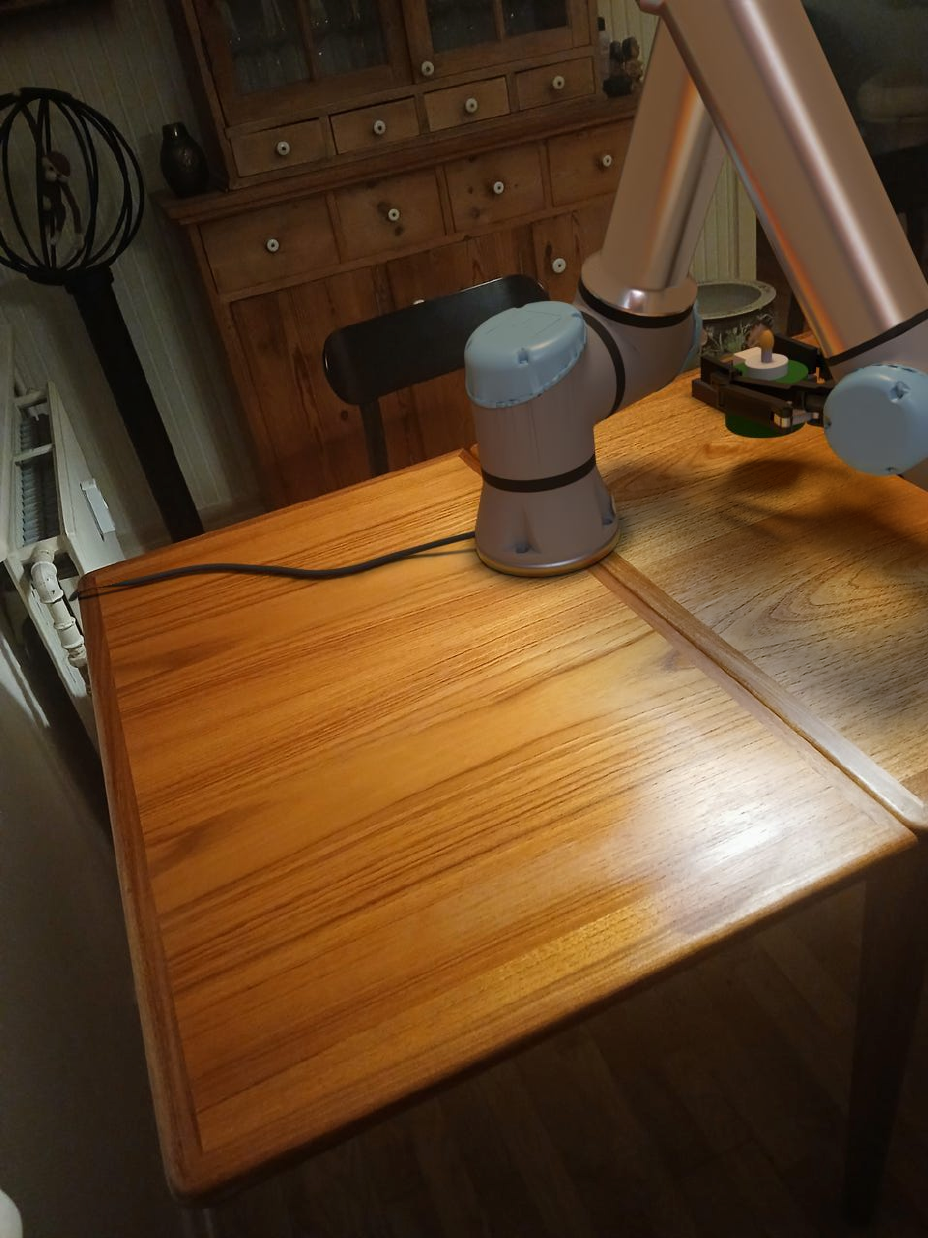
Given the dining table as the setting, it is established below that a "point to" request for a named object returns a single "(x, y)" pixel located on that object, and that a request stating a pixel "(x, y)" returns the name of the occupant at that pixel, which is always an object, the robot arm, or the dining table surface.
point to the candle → (766, 369)
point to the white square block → (745, 355)
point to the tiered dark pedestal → (710, 395)
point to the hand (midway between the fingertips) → (739, 356)
